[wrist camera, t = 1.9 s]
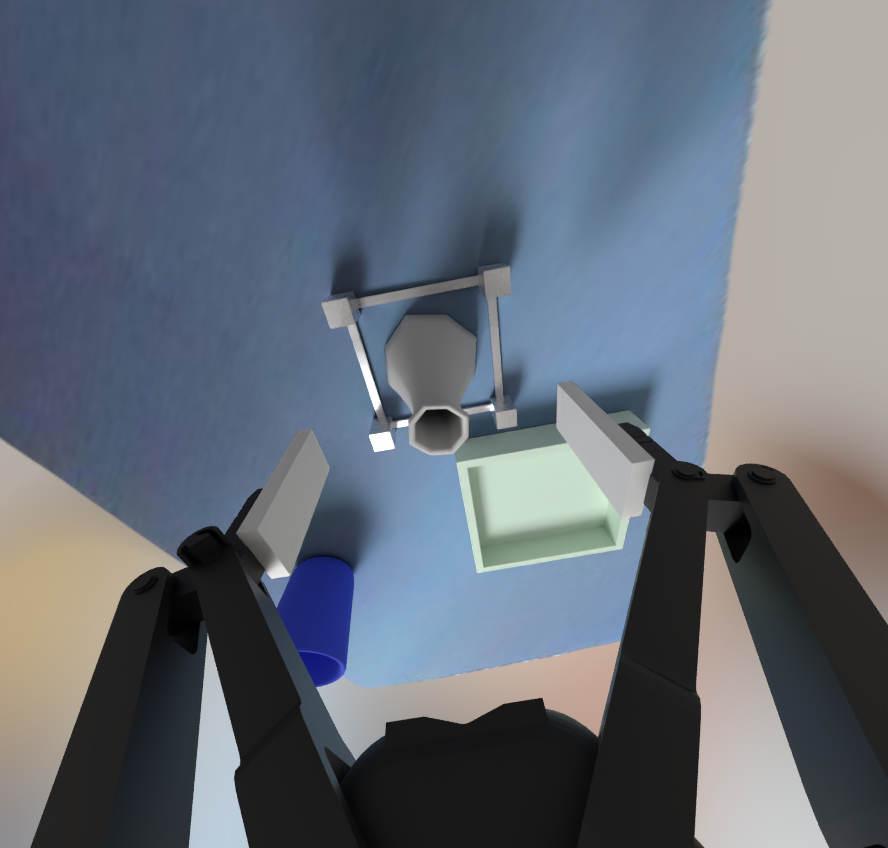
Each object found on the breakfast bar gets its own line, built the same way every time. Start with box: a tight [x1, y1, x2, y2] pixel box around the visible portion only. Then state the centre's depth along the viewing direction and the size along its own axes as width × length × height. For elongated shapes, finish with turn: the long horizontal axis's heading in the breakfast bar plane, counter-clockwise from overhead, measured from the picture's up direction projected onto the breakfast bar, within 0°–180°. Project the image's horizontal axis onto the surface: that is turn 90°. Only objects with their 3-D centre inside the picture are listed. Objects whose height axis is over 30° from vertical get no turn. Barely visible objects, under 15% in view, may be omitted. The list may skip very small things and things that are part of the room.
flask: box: [384, 314, 477, 455], centre depth 20 cm, size 7×7×10 cm
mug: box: [277, 556, 354, 687], centre depth 34 cm, size 8×12×10 cm
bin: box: [455, 410, 650, 573], centre depth 31 cm, size 16×16×3 cm
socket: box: [321, 262, 517, 451], centre depth 23 cm, size 12×12×2 cm
